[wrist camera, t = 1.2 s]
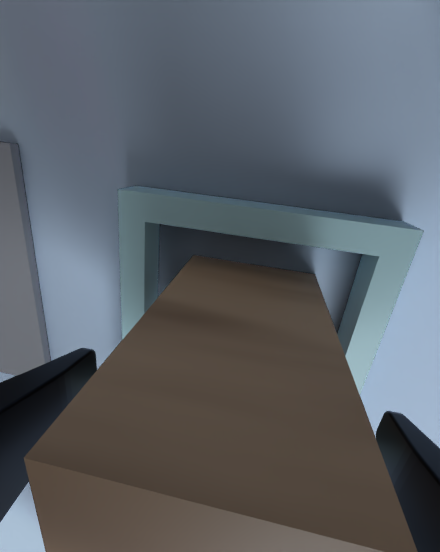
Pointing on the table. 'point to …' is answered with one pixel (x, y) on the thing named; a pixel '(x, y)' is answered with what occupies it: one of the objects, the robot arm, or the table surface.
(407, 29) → the table surface
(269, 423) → the oak block
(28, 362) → the pad
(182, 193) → the pocket frame
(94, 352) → the robot arm
